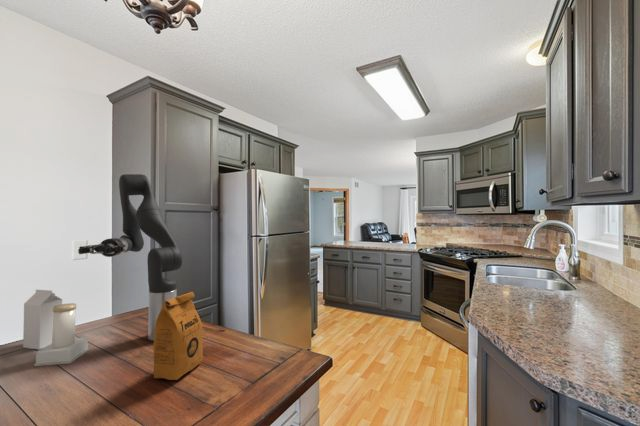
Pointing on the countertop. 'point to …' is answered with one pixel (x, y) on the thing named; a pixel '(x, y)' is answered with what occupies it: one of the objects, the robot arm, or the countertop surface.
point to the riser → (61, 353)
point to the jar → (63, 325)
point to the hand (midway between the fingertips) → (93, 251)
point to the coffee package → (177, 338)
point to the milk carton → (39, 319)
